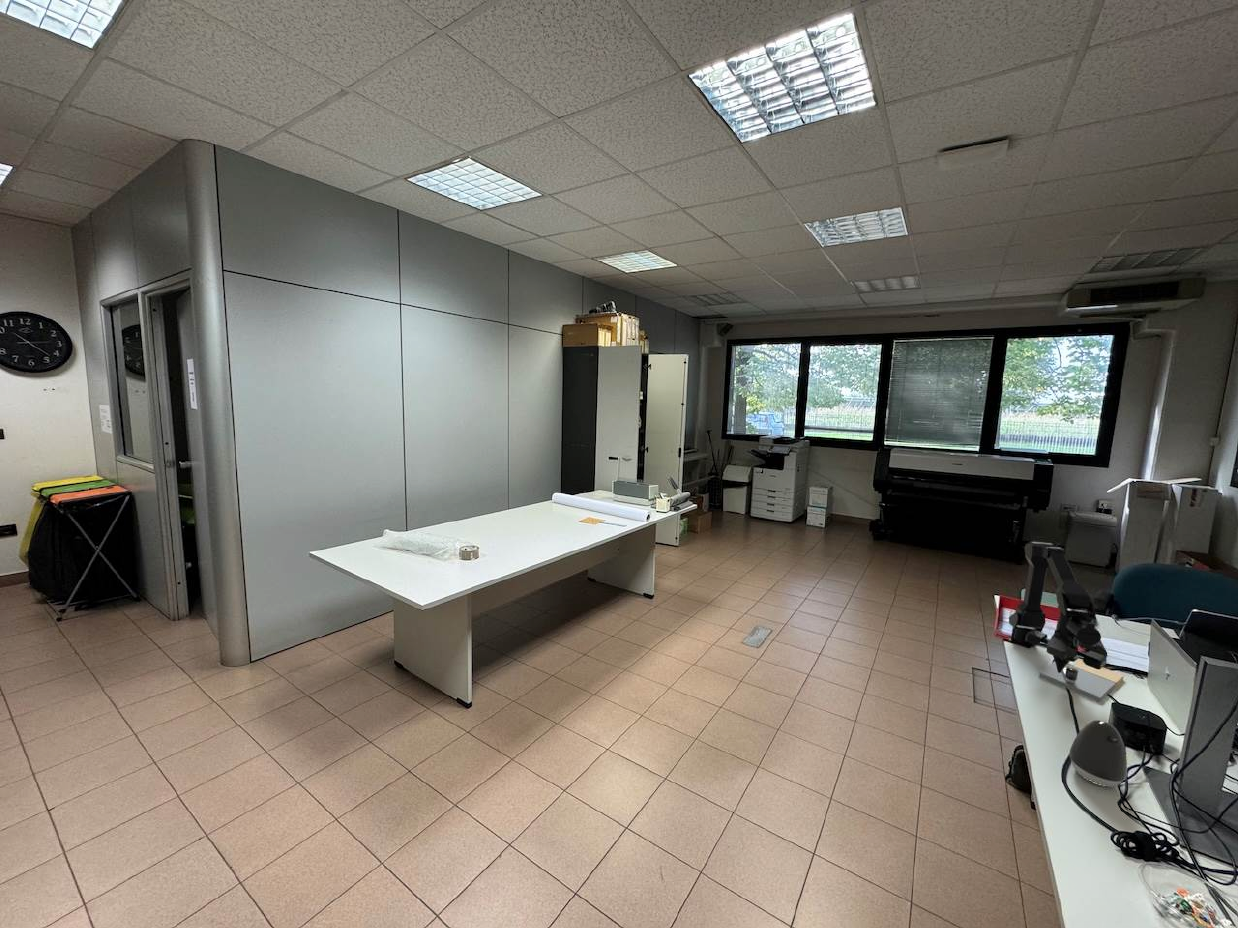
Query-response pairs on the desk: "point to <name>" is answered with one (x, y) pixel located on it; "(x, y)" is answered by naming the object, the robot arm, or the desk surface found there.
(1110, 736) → the egg shaped dome
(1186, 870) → the desk surface
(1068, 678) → the door handle
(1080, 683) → the door board
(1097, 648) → the end cap
